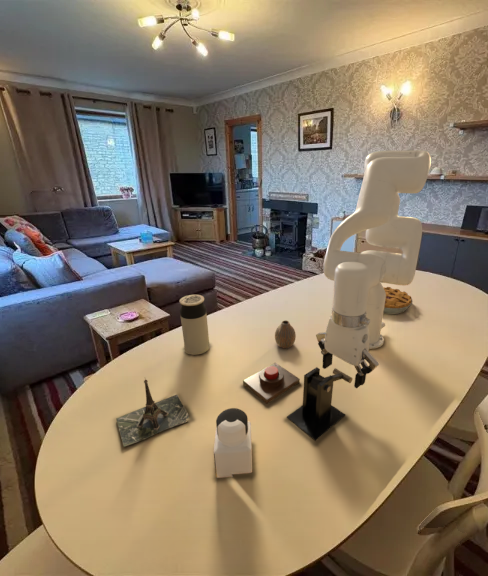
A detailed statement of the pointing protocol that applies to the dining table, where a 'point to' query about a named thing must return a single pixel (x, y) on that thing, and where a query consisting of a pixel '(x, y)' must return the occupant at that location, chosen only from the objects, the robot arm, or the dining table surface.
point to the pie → (396, 301)
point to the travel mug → (194, 324)
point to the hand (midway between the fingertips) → (342, 375)
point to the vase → (285, 335)
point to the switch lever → (337, 376)
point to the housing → (271, 383)
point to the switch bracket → (316, 407)
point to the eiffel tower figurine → (151, 418)
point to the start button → (271, 372)
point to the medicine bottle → (232, 443)
